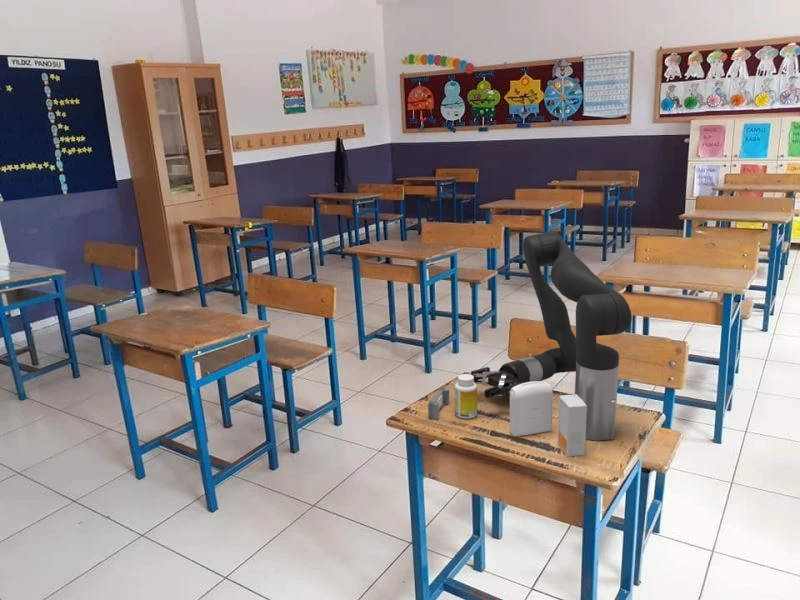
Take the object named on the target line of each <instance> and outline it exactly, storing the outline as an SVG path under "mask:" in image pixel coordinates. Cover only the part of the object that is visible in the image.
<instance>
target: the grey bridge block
mask: <svg viewBox="0 0 800 600" xmlns="http://www.w3.org/2000/svg"><path fill="white" fill-rule="evenodd" d="M443 404H447V405H446V406H448V404H450V388H442V387H439V389H438V391H437V392H436V394H434V396H433V397H432V398H431V399H430V401H429V402H428V404H427V405H428V406H427V407H428V410H427V411H428V412H427V413H428V415H427V416H428V419H431V420H437V421H438V420H439V419H440V410H441V409H442V408H441V407H444V405H443ZM440 408H441V409H440Z"/></svg>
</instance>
